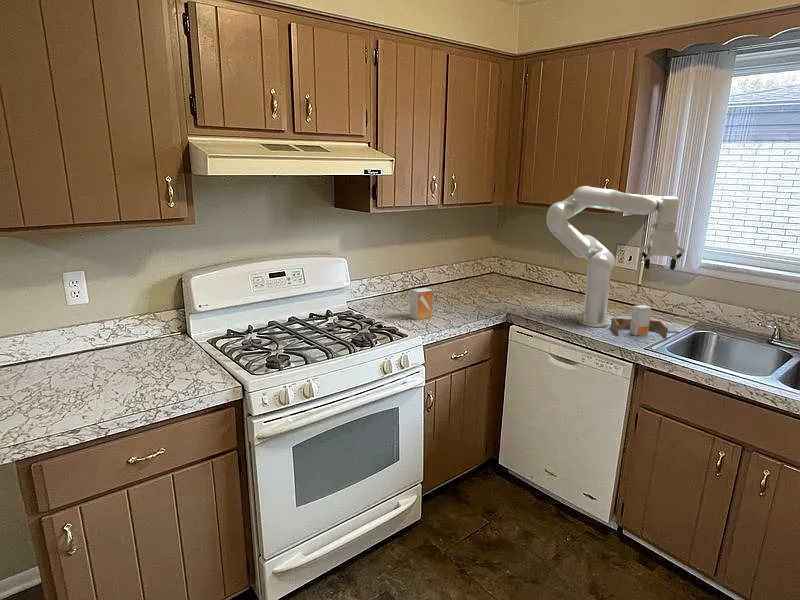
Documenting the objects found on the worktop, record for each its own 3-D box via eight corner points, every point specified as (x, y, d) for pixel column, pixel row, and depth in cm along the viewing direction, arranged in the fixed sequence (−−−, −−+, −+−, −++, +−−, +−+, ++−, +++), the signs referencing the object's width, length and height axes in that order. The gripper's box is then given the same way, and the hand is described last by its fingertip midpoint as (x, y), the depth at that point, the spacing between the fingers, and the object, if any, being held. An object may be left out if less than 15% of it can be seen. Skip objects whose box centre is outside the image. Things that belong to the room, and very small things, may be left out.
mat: (655, 331, 223) (655, 330, 223) (648, 325, 232) (648, 323, 232) (680, 333, 221) (680, 331, 221) (672, 326, 231) (672, 325, 231)
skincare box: (635, 336, 217) (639, 308, 214) (629, 332, 220) (632, 305, 218) (648, 335, 218) (652, 307, 215) (641, 332, 222) (644, 304, 219)
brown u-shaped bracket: (616, 335, 217) (617, 324, 216) (610, 327, 227) (611, 317, 226) (666, 338, 214) (668, 327, 213) (658, 330, 224) (659, 320, 223)
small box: (417, 320, 233) (418, 292, 230) (409, 317, 239) (410, 289, 235) (432, 317, 238) (433, 290, 235) (423, 314, 243) (424, 287, 240)
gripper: (645, 227, 209) (639, 269, 213) (691, 229, 206) (684, 271, 210) (639, 225, 216) (634, 266, 220) (684, 227, 213) (678, 268, 218)
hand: (659, 269), depth 215 cm, fingers open, 9 cm apart
